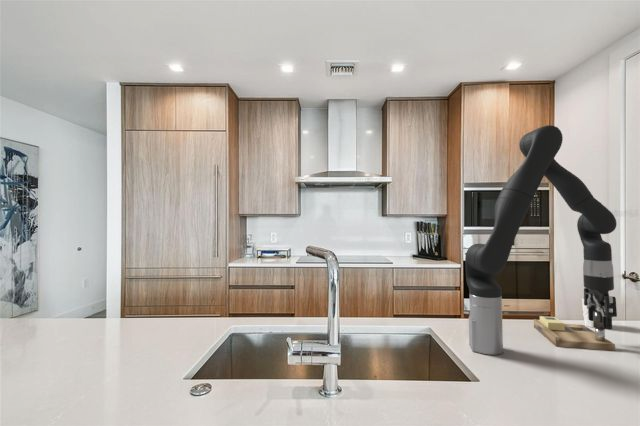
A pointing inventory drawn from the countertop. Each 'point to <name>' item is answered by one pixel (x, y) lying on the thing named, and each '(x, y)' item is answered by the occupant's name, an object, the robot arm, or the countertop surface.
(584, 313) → the white cup
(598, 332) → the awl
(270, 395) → the countertop surface
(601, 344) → the board
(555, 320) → the stud finder
